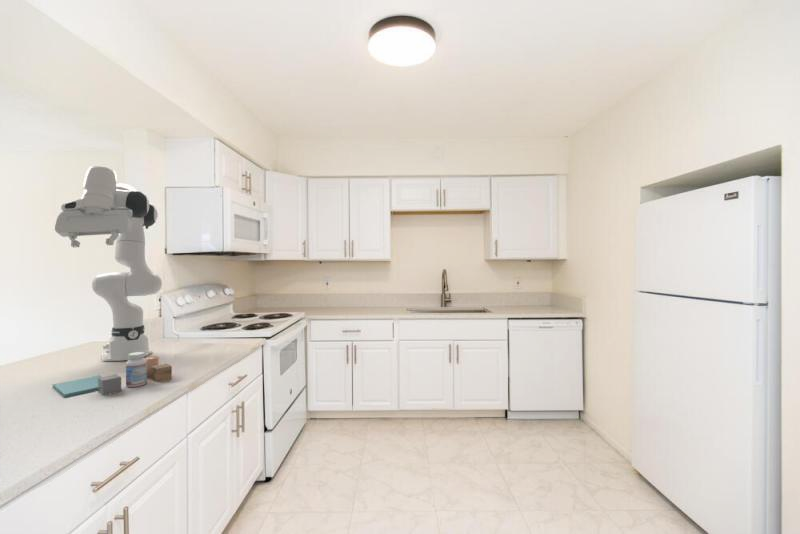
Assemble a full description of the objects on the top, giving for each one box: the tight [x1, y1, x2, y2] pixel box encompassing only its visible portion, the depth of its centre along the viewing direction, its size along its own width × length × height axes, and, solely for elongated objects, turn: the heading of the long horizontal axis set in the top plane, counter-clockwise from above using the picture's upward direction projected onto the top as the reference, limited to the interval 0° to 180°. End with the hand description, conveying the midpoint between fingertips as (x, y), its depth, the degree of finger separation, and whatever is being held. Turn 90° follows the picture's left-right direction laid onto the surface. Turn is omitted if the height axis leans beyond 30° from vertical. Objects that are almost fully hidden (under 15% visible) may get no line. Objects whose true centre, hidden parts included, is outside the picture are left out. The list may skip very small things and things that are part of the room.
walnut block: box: [150, 363, 173, 383], centre depth 137 cm, size 5×5×5 cm
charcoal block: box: [97, 373, 122, 396], centre depth 123 cm, size 5×5×5 cm
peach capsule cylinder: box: [143, 356, 160, 379], centre depth 140 cm, size 5×5×7 cm
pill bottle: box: [125, 352, 148, 388], centre depth 130 cm, size 6×6×11 cm
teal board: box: [52, 374, 103, 398], centre depth 128 cm, size 16×13×1 cm
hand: (92, 245), depth 118 cm, fingers open, 8 cm apart
